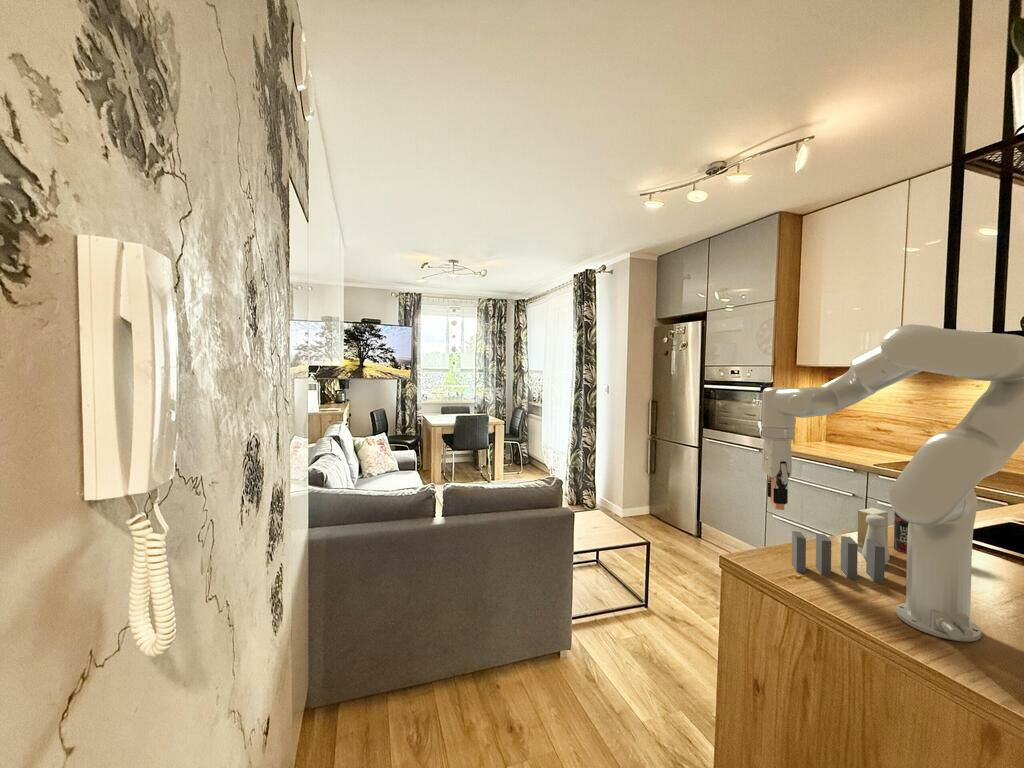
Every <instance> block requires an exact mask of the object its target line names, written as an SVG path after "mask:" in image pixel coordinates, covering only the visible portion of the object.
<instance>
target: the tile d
mask: <svg viewBox="0 0 1024 768" xmlns="http://www.w3.org/2000/svg"><path fill="white" fill-rule="evenodd" d="M865 562H866V565H865V566H866V567H865V569H866V570H865V574H866V573H867V574H868V575H869V576H870V577H871V578H872V579H873V580H872V579H871V578H870V577H869V576H868V575H867V574H866V575H867V576H868V577H869V578H870V579H871V580H872V582H874V583H878V582H881V583H880V584H885V569H886V568H885V567H886V565H885V547H884V546H883V545H882V544H881V543H880V542H878V541H877V540H875V539H867V555H866V560H865Z"/></svg>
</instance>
